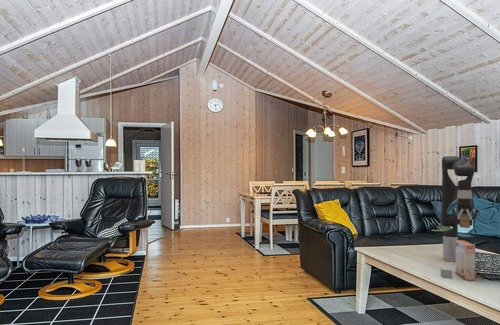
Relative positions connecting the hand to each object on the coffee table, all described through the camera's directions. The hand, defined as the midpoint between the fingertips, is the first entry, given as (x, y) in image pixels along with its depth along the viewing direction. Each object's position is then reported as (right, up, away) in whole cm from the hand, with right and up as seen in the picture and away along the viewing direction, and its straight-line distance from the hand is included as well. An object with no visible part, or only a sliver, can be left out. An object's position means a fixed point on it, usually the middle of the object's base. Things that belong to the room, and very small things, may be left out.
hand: (464, 225), depth 216 cm
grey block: (-12, -31, -1) cm, 33 cm away
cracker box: (0, -31, -1) cm, 31 cm away
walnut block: (0, -1, 0) cm, 1 cm away
